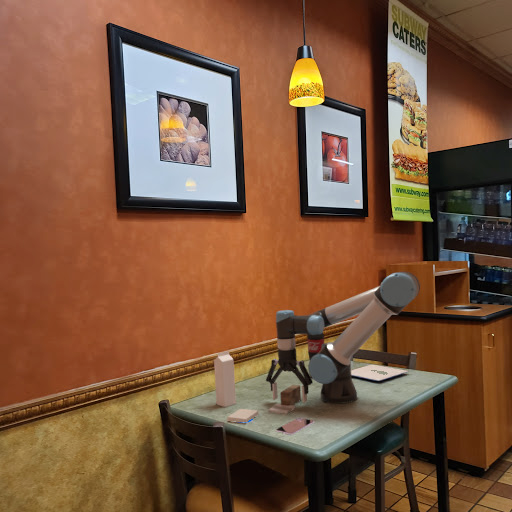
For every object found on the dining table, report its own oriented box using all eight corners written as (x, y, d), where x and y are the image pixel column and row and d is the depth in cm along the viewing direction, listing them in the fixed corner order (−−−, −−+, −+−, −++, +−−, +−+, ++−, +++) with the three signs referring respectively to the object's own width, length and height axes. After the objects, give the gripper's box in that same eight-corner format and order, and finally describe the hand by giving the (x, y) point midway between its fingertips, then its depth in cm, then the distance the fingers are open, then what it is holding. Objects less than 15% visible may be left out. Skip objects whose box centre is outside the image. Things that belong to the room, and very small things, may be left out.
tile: (258, 410, 182) (245, 419, 173) (258, 416, 182) (246, 425, 173) (240, 408, 185) (227, 416, 177) (240, 414, 185) (227, 422, 177)
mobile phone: (273, 429, 164) (298, 416, 175) (274, 432, 164) (298, 419, 175) (291, 433, 159) (315, 420, 171) (291, 436, 159) (315, 422, 171)
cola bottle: (308, 375, 238) (305, 316, 238) (325, 374, 238) (322, 315, 238) (310, 379, 230) (306, 318, 230) (327, 378, 229) (323, 317, 230)
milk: (216, 404, 199) (212, 352, 199) (227, 401, 203) (224, 350, 203) (225, 407, 194) (221, 354, 194) (236, 403, 198) (233, 351, 198)
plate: (378, 384, 214) (378, 380, 214) (342, 376, 232) (342, 372, 232) (408, 375, 228) (408, 370, 228) (372, 368, 246) (371, 364, 246)
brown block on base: (288, 398, 201) (287, 384, 201) (305, 400, 197) (305, 385, 198) (268, 412, 185) (267, 397, 185) (286, 414, 181) (285, 398, 181)
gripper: (318, 347, 190) (321, 400, 190) (264, 345, 202) (267, 395, 202) (311, 351, 184) (314, 405, 184) (256, 348, 196) (259, 400, 195)
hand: (289, 400), depth 193 cm, fingers open, 13 cm apart
